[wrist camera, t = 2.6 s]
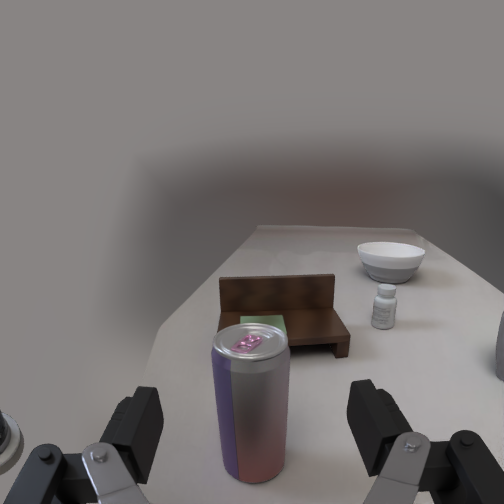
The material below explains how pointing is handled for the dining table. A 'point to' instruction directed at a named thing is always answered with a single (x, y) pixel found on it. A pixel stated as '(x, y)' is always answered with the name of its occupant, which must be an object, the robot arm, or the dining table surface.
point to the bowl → (390, 260)
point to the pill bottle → (384, 307)
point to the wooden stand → (286, 308)
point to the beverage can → (252, 399)
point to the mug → (500, 350)
